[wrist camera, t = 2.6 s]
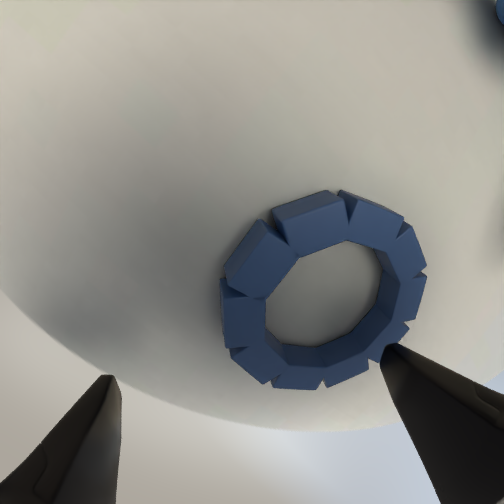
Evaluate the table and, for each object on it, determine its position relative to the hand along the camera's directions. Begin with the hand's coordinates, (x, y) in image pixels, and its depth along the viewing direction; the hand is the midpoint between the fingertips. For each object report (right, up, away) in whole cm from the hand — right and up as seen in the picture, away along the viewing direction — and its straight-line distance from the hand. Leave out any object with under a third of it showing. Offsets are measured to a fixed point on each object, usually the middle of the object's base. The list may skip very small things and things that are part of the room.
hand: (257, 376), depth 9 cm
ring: (+3, +2, +5) cm, 6 cm away
